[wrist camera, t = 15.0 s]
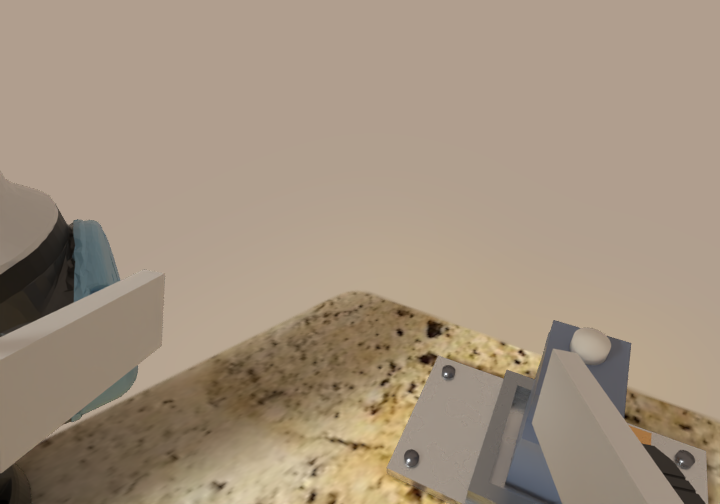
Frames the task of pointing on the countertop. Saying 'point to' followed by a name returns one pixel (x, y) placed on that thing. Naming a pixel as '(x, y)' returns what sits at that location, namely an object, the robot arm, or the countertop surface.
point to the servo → (528, 460)
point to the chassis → (488, 438)
